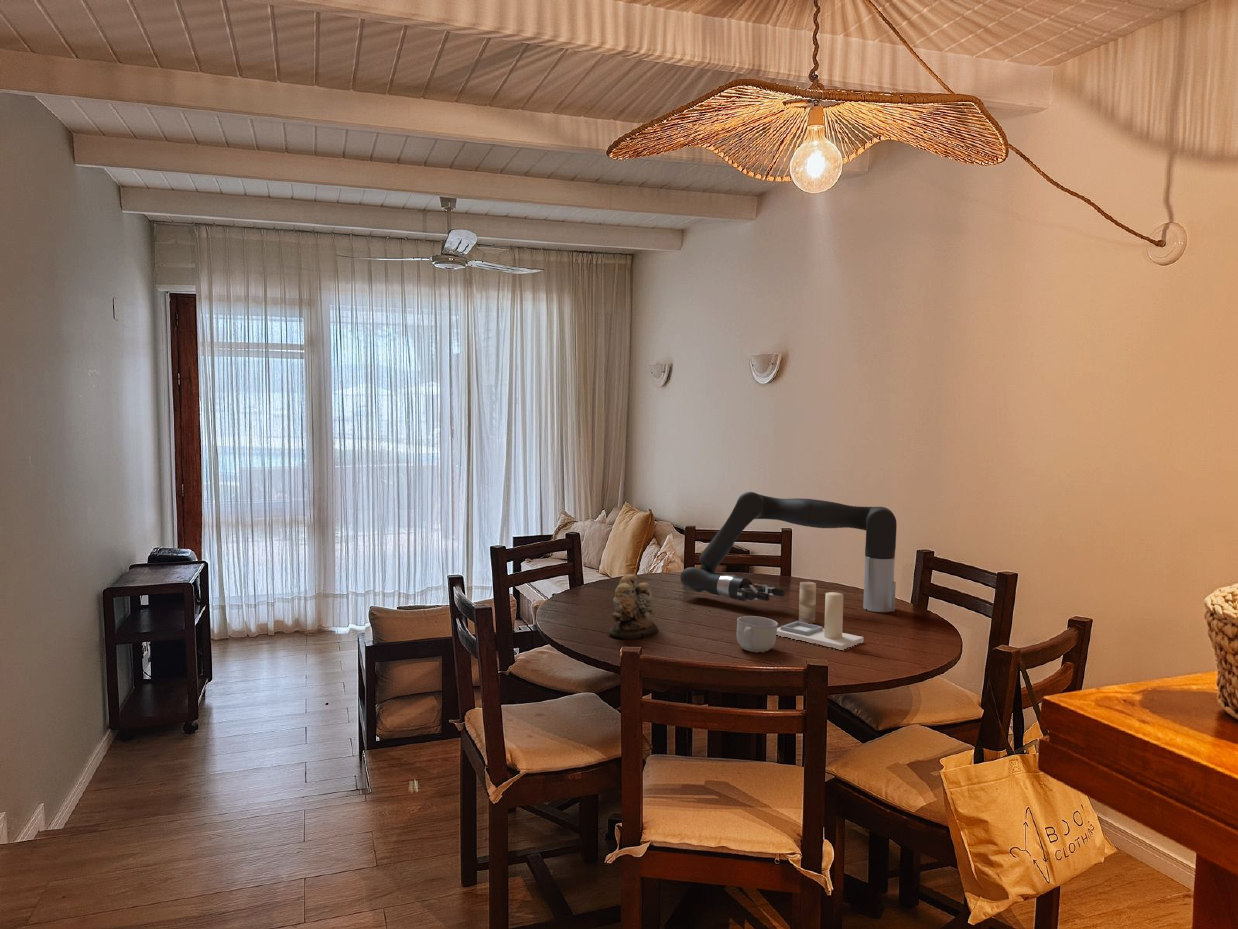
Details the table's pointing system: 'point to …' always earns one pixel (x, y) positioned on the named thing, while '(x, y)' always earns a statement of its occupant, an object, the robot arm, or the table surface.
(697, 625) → the table surface
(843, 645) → the board
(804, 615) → the maple post
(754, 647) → the teacup
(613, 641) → the table surface
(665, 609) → the table surface
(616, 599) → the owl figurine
